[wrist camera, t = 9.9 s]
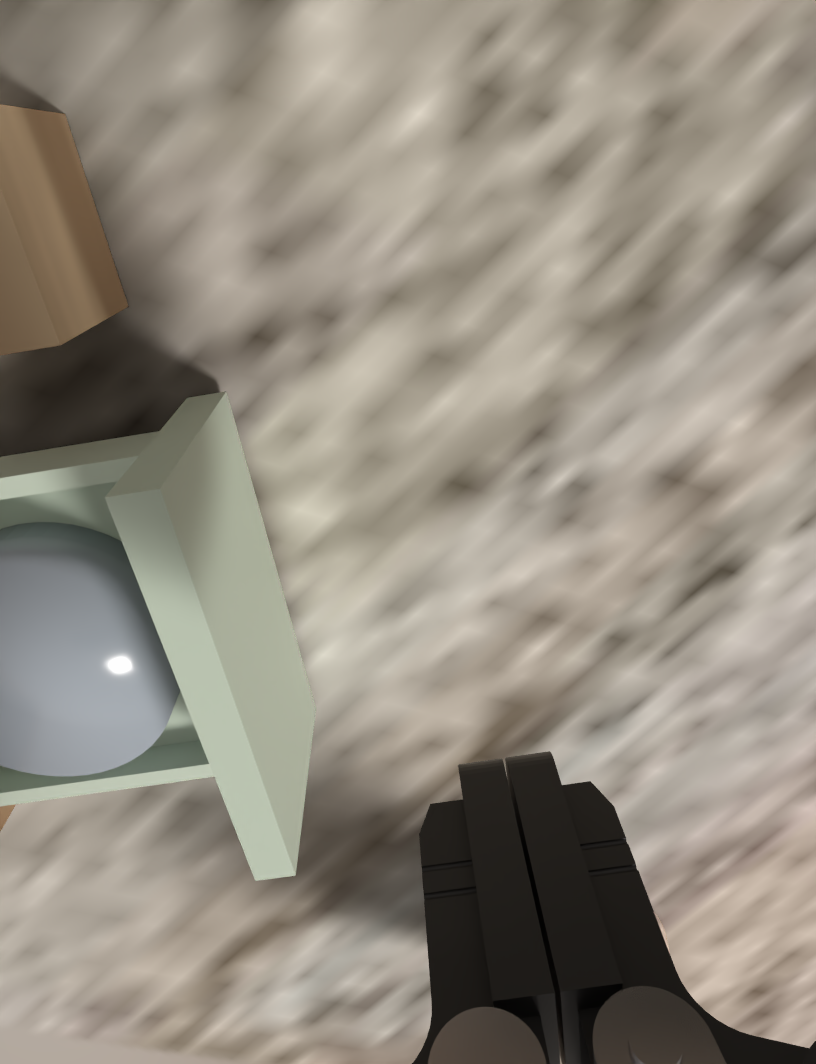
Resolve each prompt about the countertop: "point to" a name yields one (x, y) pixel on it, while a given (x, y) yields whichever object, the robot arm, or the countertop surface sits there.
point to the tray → (190, 617)
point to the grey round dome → (76, 654)
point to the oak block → (49, 237)
